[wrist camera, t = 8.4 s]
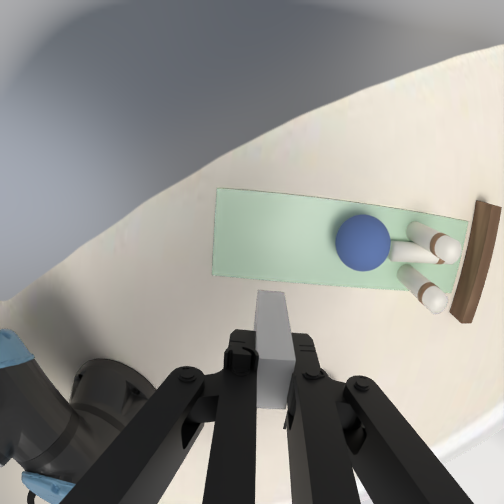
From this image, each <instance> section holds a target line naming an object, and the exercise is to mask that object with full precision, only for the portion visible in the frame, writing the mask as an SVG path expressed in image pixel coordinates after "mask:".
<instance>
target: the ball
mask: <svg viewBox="0 0 504 504" xmlns="http://www.w3.org/2000/svg"><path fill="white" fill-rule="evenodd" d="M335 246H336V251H337V254H338V256H339V258H340V259H341V261H342V262H343V263H344V264H345V265H346V266H347V267H349V268H351V269H353V270H356V271H362V272H364V271H371V270H373V269H375V268H377V267H379V266H380V265H381V264H382V263H383V262H384V261H385V260H386V258H387V256H388V254H389V251H390V246H391V240H390V235H389V232H388V230H387V228H386V227H385V225H384V224H383V223H382V222H381V221H380V220H379V219H377V218H375V217H373V216H370V215H365V214H362V215H355V216H353V217H350V218H349V219H347V220H346V221H345V222H344V223H343V224H342V225H341V226H340V228H339V230H338V232H337V235H336V240H335Z"/></svg>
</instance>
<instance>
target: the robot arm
mask: <svg viewBox="0 0 504 504" xmlns="http://www.w3.org/2000/svg"><path fill="white" fill-rule="evenodd" d="M34 358H35V357H34V355H33V354H31V353H30V352H29V351H28V349H27V348H26V347H25V345H24V344H23V342H22V341H21V340H20V338H19V337H18V335H17V334H16V333H15V332H13V331H12V330H9V329H1V330H0V467H3V466H4V465H5V464H6V463H7V462H8V461H9V460H10V459H11V458H13V459H15V460H16V461H17V462H18V463H19V464H20V465H21V466H22V467H23V468H24V469H25V471H23V472H22V482H23V483H24V484H25V485H26V487H27V488H28V489H29V490H31V491H32V492H33V493H35V494H36V495H37V496H39V497H40V498H42V499H44V500H46V501H47V502H49V503H51V504H157V503H158V502H159V500H160V499H161V497H162V495H163V494H164V492H165V490H166V489H167V487H168V486H169V484H170V482H171V481H172V479H173V477H174V476H175V474H176V472H177V471H178V469H179V467H180V466H181V464H182V462H183V461H184V459H185V457H186V456H187V454H188V452H189V450H190V449H191V447H192V445H193V444H194V442H195V440H196V438H197V437H198V435H199V433H200V431H201V430H202V428H203V426H204V423H205V422H213V421H215V425H214V431H213V438H212V444H211V450H210V457H209V463H208V470H207V476H206V482H205V489H204V496H203V502H202V504H255V473H256V414H257V408H268V409H286V404H287V406H288V411H287V415H286V419H285V423H284V427H283V429H286V426H287V438H288V451H289V465H290V479H291V494H292V504H361V503H360V498H359V494H358V490H357V485H356V481H355V477H354V473H353V469H354V471H355V472H356V474H357V476H358V478H359V479H360V481H361V483H362V484H363V486H364V488H365V490H366V491H367V493H368V495H369V496H370V498H371V500H372V502H373V503H374V504H474V503H473V502H472V501H471V499H470V498H469V497H468V496H467V494H466V493H465V492H464V491H463V490H462V488H461V487H460V486H459V485H458V483H457V482H456V481H455V480H454V478H453V477H452V476H451V474H450V473H449V472H448V471H447V469H446V468H445V467H444V466H443V465H442V463H441V462H440V461H439V460H438V458H437V457H436V456H435V455H434V453H433V452H432V451H431V450H430V449H429V447H428V446H427V445H426V444H425V442H424V441H423V440H422V439H421V437H420V436H419V435H418V434H417V433H416V431H415V430H414V429H413V428H412V426H411V425H410V424H409V423H408V422H407V420H406V419H405V418H404V417H403V416H402V414H401V413H400V412H399V411H398V409H397V408H396V407H395V406H394V405H393V403H392V402H391V401H390V400H389V399H388V397H387V396H386V395H385V394H384V392H383V391H382V390H381V389H380V388H379V386H378V385H377V384H376V383H375V382H374V381H373V380H372V379H370V378H368V377H365V376H353V377H350V378H349V379H348V380H347V382H346V383H344V382H339V381H335V380H332V379H330V378H328V375H327V373H326V371H324V370H323V369H322V368H320V364H319V361H318V357H317V353H316V350H315V347H314V342H313V339H312V338H311V337H310V336H309V335H308V334H302V333H291V329H290V323H289V317H288V312H287V306H286V300H285V295H284V292H276V291H264V290H258V293H257V303H256V312H255V322H254V331H249V330H238V329H235V330H234V331H233V332H232V333H231V334H230V340H229V347H228V348H227V349H226V351H225V352H224V368H223V369H222V370H221V371H220V372H217V373H215V374H210V375H204V374H203V372H202V371H201V370H199V369H197V368H195V367H190V366H184V367H179V368H176V369H175V370H173V371H172V372H171V373H170V375H169V376H168V377H167V378H166V379H165V381H164V382H163V383H162V384H161V385H160V386H159V388H158V389H157V390H155V389H154V387H153V386H152V385H151V384H150V383H149V382H148V381H147V380H146V379H145V378H144V377H143V376H141V375H140V374H139V373H137V372H136V371H134V370H133V369H131V368H129V367H127V366H125V365H123V364H121V363H118V362H115V361H112V360H107V359H95V360H91V361H88V362H87V363H85V364H84V365H83V366H82V367H81V369H80V370H79V371H78V373H77V374H76V376H75V378H74V382H73V386H72V391H71V395H70V400H69V403H68V402H67V401H66V400H65V398H64V397H63V396H62V395H61V394H60V392H59V391H58V390H57V389H56V388H55V386H54V385H53V384H52V382H51V381H50V380H49V379H48V377H47V376H46V375H45V373H44V372H43V370H42V369H41V368H40V366H39V365H38V363H37V362H36V361H35V359H34ZM352 467H353V469H352Z"/></svg>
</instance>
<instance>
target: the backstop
mask: <svg viewBox="0 0 504 504" xmlns="http://www.w3.org/2000/svg"><path fill="white" fill-rule="evenodd" d="M501 208H502V207H499V206H495V205H492V204H488V203H484V202H481V201H477V200H476V205H475V212H474V217H473V223H472V228H471V233H470V238H469V243H468V247H467V252H466V256H465V260H464V264H463V268H462V272H461V276H460V279H459V283H458V287H457V290H456V293H455V297H454V300H453V303H452V306H451V309H450V313H451V314H452V315H453V316H454V317H455V318H456V319H457V320H458V321H459V322H460V323H472V320H473V317H474V315H475V312H476V309H477V306H478V303H479V300H480V297H481V294H482V290H483V287H484V284H485V280H486V277H487V273H488V269H489V266H490V262H491V258H492V254H493V249H494V245H495V240H496V236H497V231H498V225H499V220H500V214H501Z"/></svg>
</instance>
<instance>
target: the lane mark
mask: <svg viewBox="0 0 504 504" xmlns="http://www.w3.org/2000/svg"><path fill="white" fill-rule="evenodd" d="M362 214H365V215H370V216H373V217H375V218H377V219H379V220H380V221H381V222H382V223H383V224H384V225H385V227H386V228H387V230H388V232H389V235H390V240H391V241H403V242H413V241H411V240H410V239H408V237H407V235H406V228H407V226H408V225H409V223H411V222H413V221H417V222H419V223H422V224H424V225H426V226H428V227H430V228H432V229H435V230H437V231H439V232H441V233H444V234H446V235H448V236H450V237H451V238H453V239H455V240H457V241H459V242H460V244H461V247H462V250H463V246H464V241H465V236H466V231H467V226H468V221H463V220H458V219H453V218H448V217H442V216H437V215H431V214H426V213H420V212H414V211H408V210H402V209H396V208H390V207H383V206H377V205H370V204H363V203H356V202H348V201H341V200H333V199H325V198H317V197H308V196H300V195H290V194H281V193H271V192H260V191H249V190H237V189H224V188H217V194H216V209H215V226H214V243H213V263H212V275H216V276H226V277H236V278H247V279H258V280H269V281H280V282H292V283H304V284H317V285H330V286H343V287H357V288H372V289H387V290H403V291H409V290H408V289H407V288H406V287H405V286H404V285H403V284H402V283H401V282H400V281H399V280H398V278H397V272H398V270H399V268H400V267H401V266H402V265H404V264H409V265H411V266H412V267H413V268H415V269H416V270H417V271H418V272H420V273H421V274H422V275H423V276H425V277H426V278H427V279H428V280H430V281H431V282H432V283H434V284H435V285H436V286H438V287H439V288H440V290H442V291H443V292H444V293H451V292H452V289H453V285H454V282H455V278H456V274H457V271H458V267H459V263H460V259H461V255H460V257H459V259H458V260H457V261H456V262H455V263H454V264H452V265H449V264H430V263H410V262H391V261H390V260H389V258H388V256H387V258H386V260H385V261H384V262H383V263H382V264H381V265H380V266H379V267H377V268H375V269H373V270H371V271H364V272H362V271H356V270H353V269H351V268H349V267H347V266H346V265H345V264H344V263H343V262H342V261H341V259H340V258H339V256H338V254H337V251H336V246H335V240H336V235H337V232H338V230H339V228H340V226H341V225H342V224H343V223H344V222H345V221H346V220H347V219H349V218H350V217H353V216H355V215H362ZM461 254H462V252H461Z"/></svg>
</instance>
